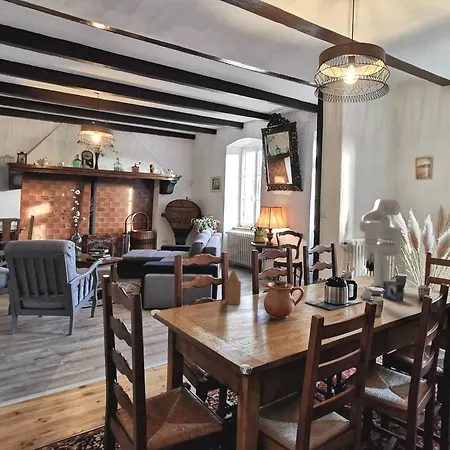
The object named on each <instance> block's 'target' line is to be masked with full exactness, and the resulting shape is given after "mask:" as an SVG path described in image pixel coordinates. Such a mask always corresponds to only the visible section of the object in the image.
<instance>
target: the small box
mask: <svg viewBox="0 0 450 450" xmlns="http://www.w3.org/2000/svg"><path fill="white" fill-rule="evenodd" d="M404 286H405V284H404V283H402V282H401V283H400V282H398V281H393V280H388V281H384V282H383V288H382V290H383V289H384V290H385V291H384V292H383V291H382V298H384V299H386V300H390V301H392V302H397V303H398V302H402V301H404Z"/></svg>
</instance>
